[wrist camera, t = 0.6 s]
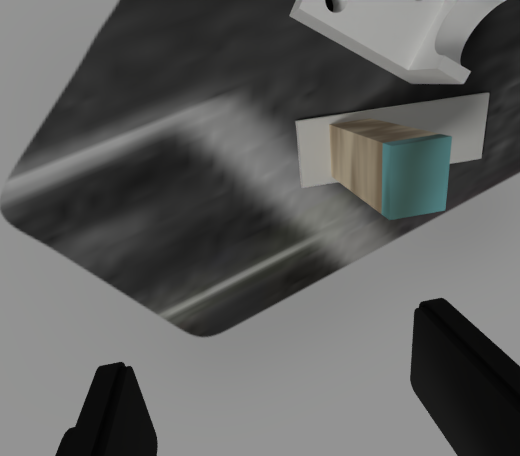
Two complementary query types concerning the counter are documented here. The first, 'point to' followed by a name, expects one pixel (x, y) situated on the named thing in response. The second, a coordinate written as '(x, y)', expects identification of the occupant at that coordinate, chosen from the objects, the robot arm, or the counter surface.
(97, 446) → the robot arm
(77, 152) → the counter surface
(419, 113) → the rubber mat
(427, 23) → the bracket
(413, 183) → the maple block
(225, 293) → the counter surface
